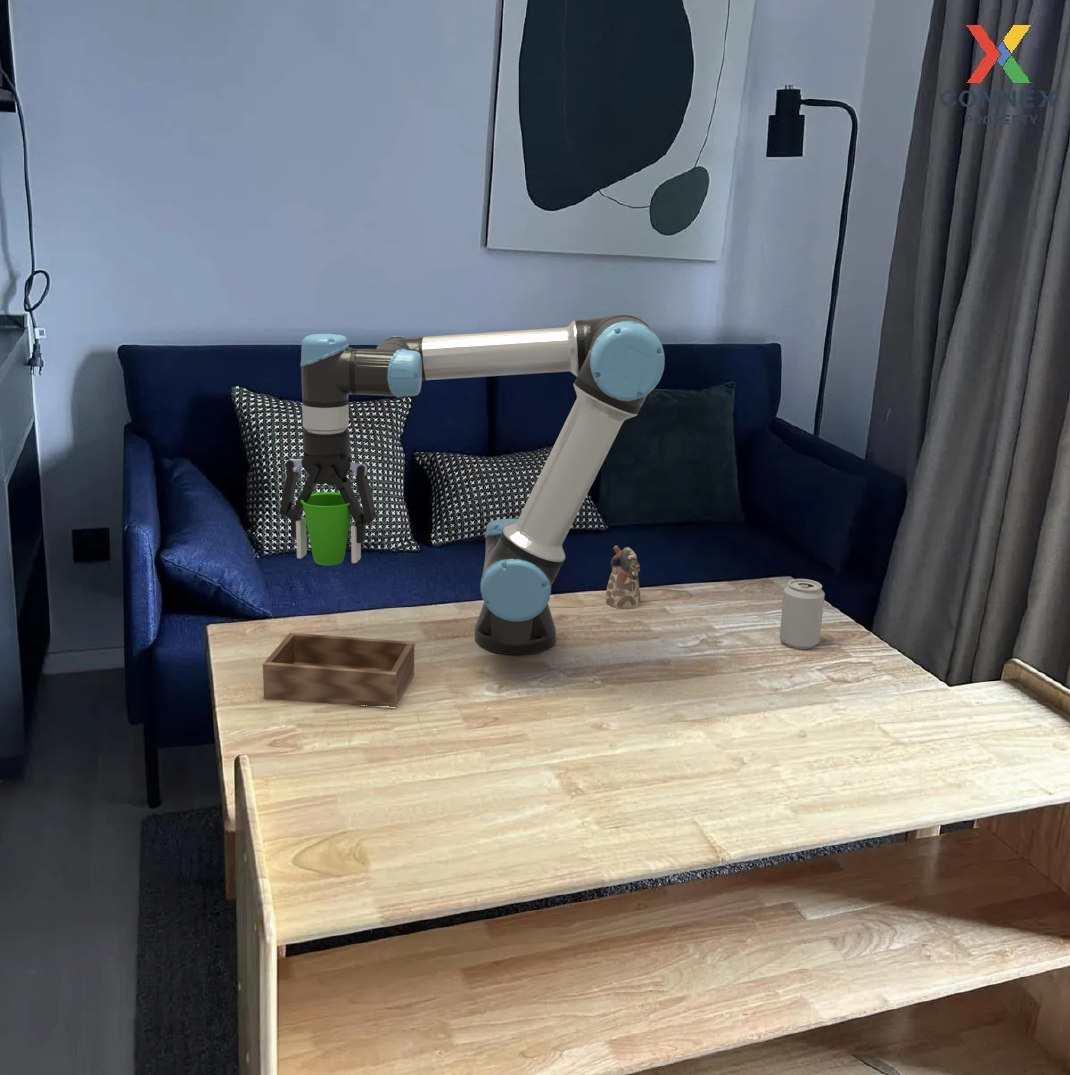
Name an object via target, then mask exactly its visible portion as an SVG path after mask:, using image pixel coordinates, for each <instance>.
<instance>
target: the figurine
mask: <svg viewBox="0 0 1070 1075" xmlns="http://www.w3.org/2000/svg"><path fill="white" fill-rule="evenodd" d="M613 551H614V552H615V555H614V556H613V557H612V558H611V561H610V566H611V569H612V570H611V573H610V576H609V579H608V583H607V586H606V593H605V602H606V604H607V605H608V606H609V607H611V608H614V609H620V610H623V609H624V610H626V609H627V610H628V609H629V610H630V609H637V608H638V607H640V606H641V591H640V580H639V573H640V571H641V569H640V568H641V564H640V563H639V562H638V557H637V554H636V552H635V551H634V550H633V549H631V548H630V547H628V546H627V547H626V546H625V547H624V548H623V549H620V547H619V546H618V545H615V546H614V547H613ZM616 561H618V562H619V565H617V563H616Z"/></svg>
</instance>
